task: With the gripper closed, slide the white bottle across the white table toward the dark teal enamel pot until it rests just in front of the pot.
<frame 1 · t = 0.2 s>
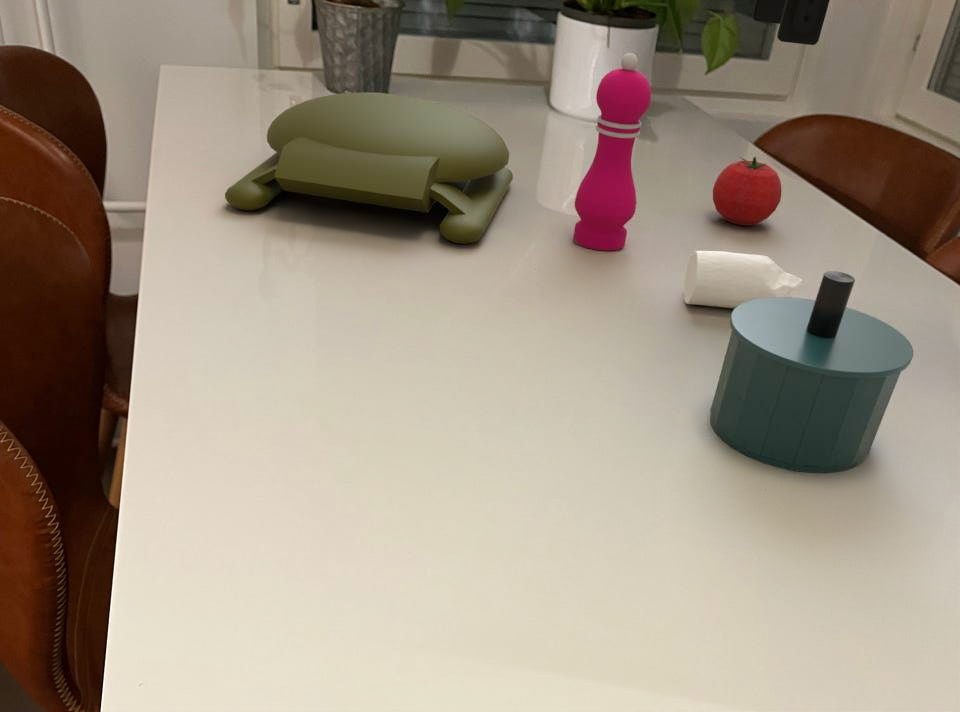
hand: (782, 31, 81), 27 cm above the table, tool pointing down, fingers open, 9 cm apart
spaceship: (384, 191, 127), on the table
white bottle: (738, 309, 107), on the table
pot: (788, 431, 85), on the table
pepper mill: (598, 243, 119), on the table
pot lid: (819, 338, 80), point 8 cm above the table, touching pot
tomato: (739, 223, 131), on the table
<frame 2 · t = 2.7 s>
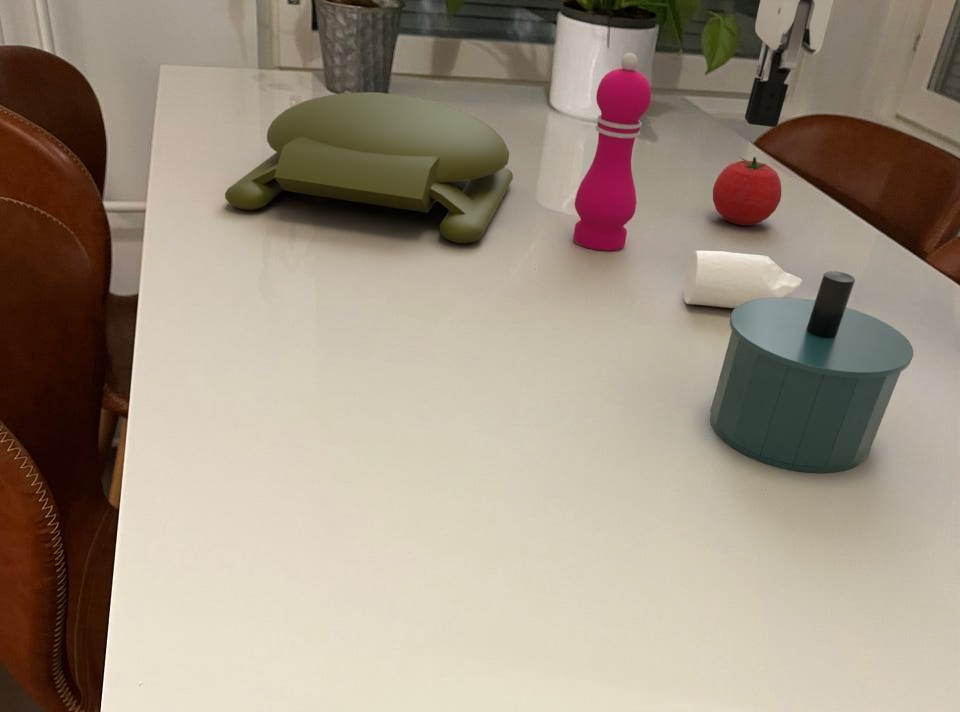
hand: (760, 123, 103), 16 cm above the table, tool pointing down, fingers closed
nothing on the table moved.
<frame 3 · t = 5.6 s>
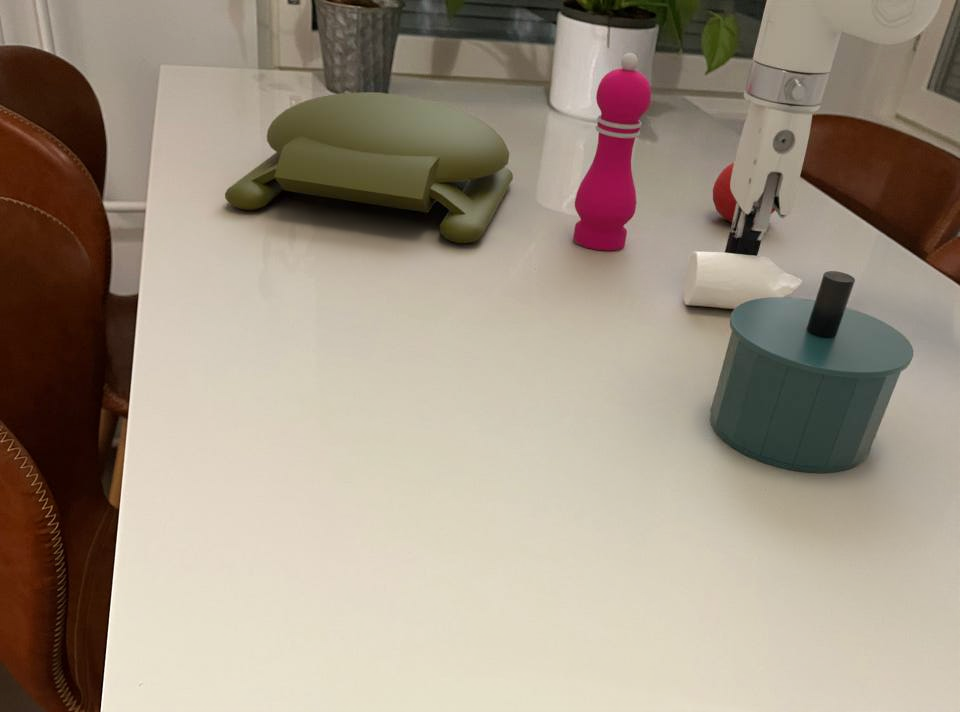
hand: (735, 272, 108), 2 cm above the table, tool pointing down, fingers closed
white bottle: (738, 310, 107), on the table, touching gripper
everything else where it was.
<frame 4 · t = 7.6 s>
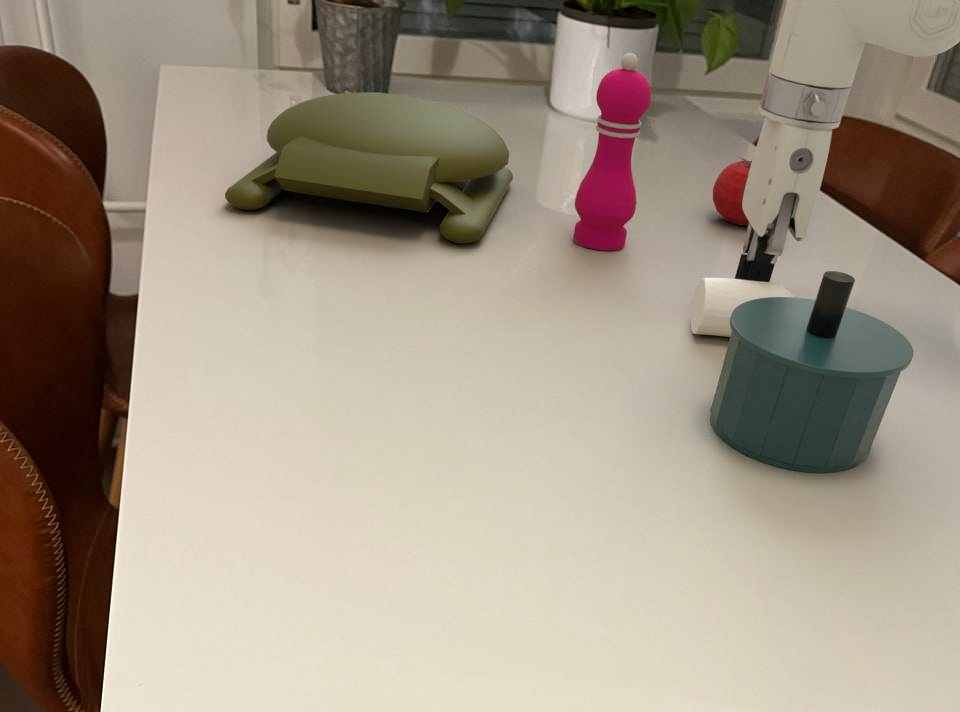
hand: (747, 296, 102), 3 cm above the table, tool pointing down, fingers closed
white bottle: (748, 339, 101), on the table, touching gripper
everything else where it was.
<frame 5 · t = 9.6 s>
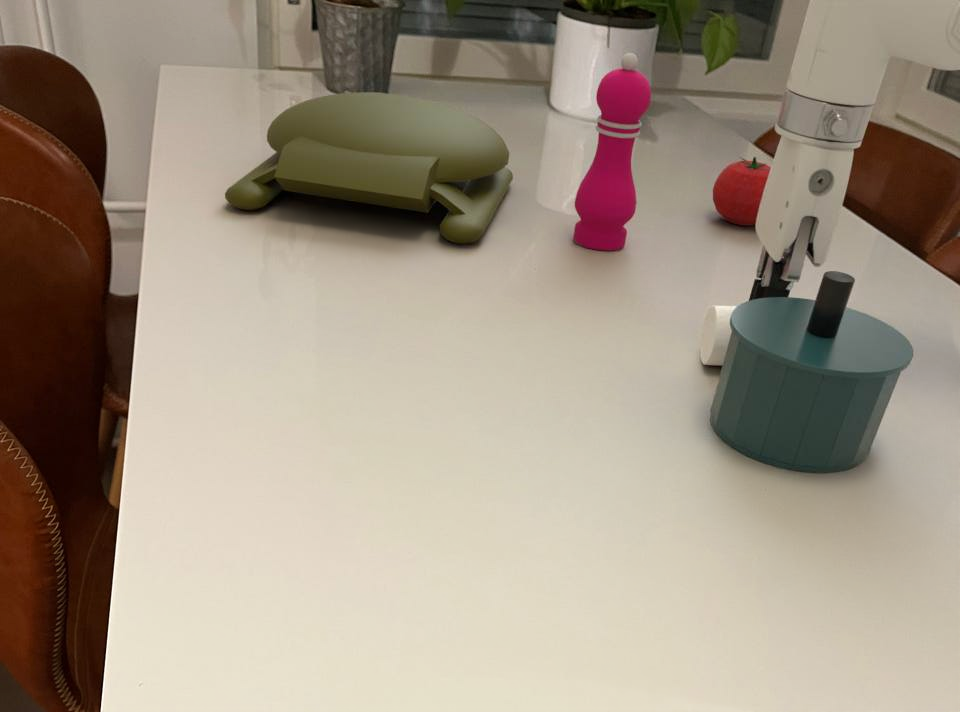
hand: (760, 323, 97), 3 cm above the table, tool pointing down, fingers closed
white bottle: (761, 370, 95), on the table, touching gripper
everything else where it was.
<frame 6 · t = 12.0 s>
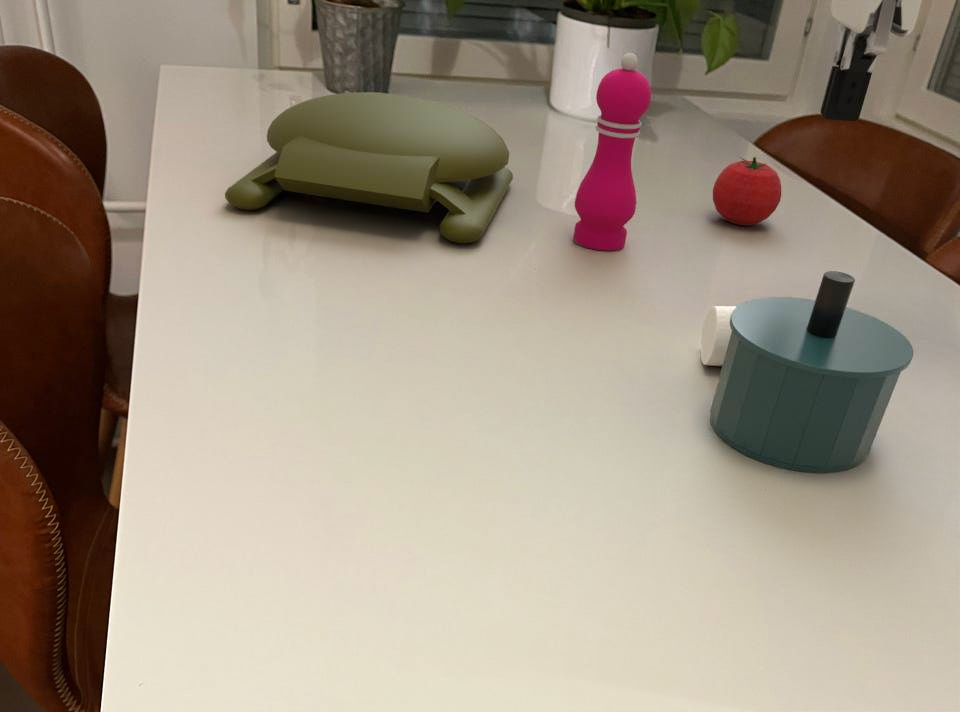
hand: (838, 117, 91), 20 cm above the table, tool pointing down, fingers closed
white bottle: (761, 370, 95), on the table
everything else where it was.
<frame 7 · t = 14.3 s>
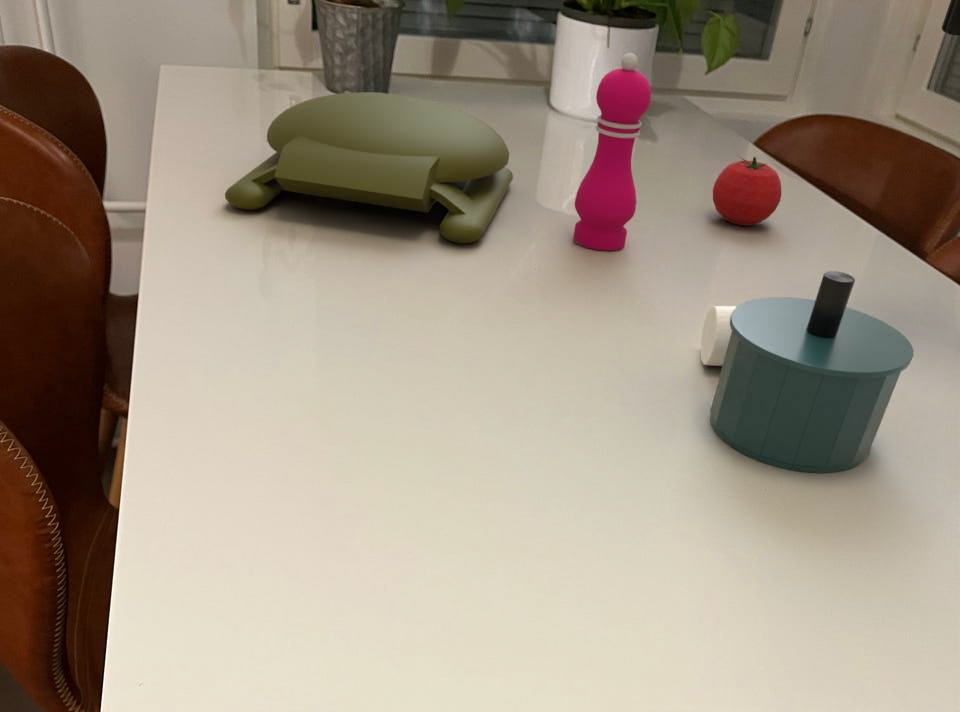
nothing on the table moved.
at the end: white bottle 12.7 cm from the pot (horizontally); white bottle moved 15.3 cm from its start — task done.
